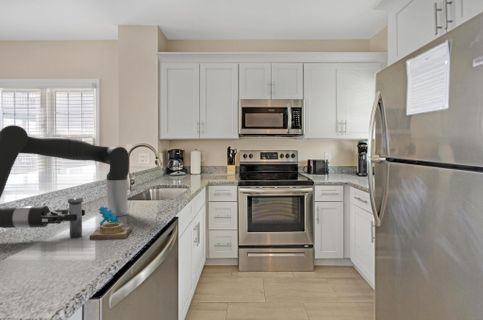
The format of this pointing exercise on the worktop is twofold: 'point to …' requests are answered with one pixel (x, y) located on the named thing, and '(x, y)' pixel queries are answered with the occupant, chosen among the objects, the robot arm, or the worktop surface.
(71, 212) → the pin
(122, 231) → the stand
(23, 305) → the worktop surface
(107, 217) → the blue irregular figure
